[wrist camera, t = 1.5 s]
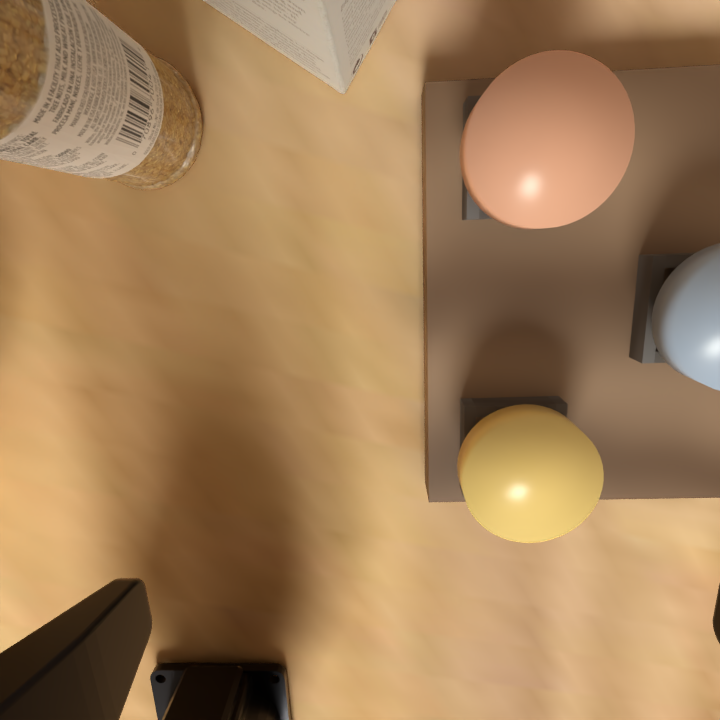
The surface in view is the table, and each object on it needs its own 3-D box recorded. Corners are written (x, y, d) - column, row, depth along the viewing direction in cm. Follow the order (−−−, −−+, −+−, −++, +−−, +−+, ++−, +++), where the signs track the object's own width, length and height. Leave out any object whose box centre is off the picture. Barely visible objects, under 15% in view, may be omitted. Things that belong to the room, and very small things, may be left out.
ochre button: (571, 505, 18) (597, 541, 16) (452, 507, 18) (462, 543, 16) (580, 392, 17) (609, 415, 15) (453, 396, 17) (463, 419, 15)
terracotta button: (592, 226, 15) (626, 224, 13) (454, 232, 16) (465, 231, 13) (603, 73, 14) (642, 44, 12) (454, 82, 14) (467, 55, 12)
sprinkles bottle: (106, 32, 17) (-867, -698, 4) (226, 94, 17) (-273, -373, 4) (68, 158, 18) (-786, -56, 5) (181, 215, 18) (-327, 156, 5)
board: (716, 477, 20) (761, 510, 18) (425, 483, 20) (431, 514, 18) (778, 74, 16) (845, 47, 14) (421, 95, 17) (428, 72, 14)
